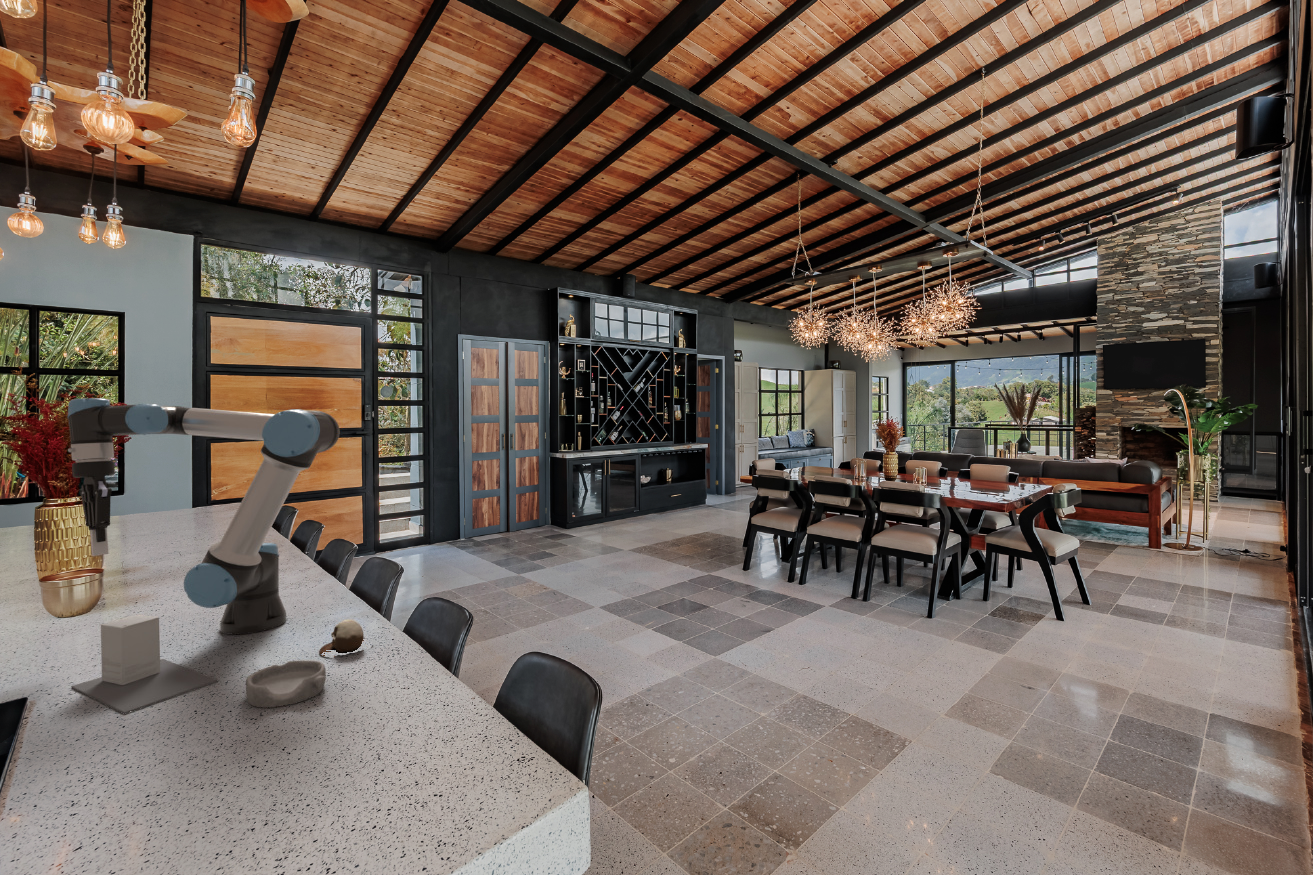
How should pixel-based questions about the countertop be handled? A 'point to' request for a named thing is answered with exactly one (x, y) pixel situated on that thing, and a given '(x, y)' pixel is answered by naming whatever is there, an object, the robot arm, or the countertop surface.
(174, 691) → the mat
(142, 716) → the countertop surface
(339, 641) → the skull
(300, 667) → the dish
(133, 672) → the supplement box
